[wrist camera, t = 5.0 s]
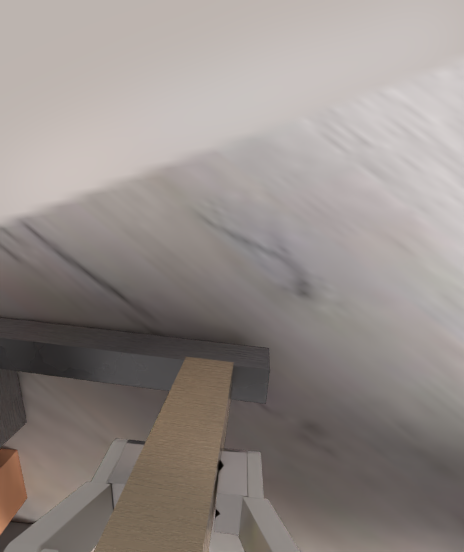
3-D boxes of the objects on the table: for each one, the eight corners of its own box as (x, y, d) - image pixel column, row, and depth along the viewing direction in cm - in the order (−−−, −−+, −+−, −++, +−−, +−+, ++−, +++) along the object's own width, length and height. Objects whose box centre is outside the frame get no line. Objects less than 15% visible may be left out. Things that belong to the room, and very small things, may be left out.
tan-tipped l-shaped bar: (268, 345, 15) (284, 613, 5) (255, 456, 17) (249, 781, 8) (-25, 311, 16) (-435, 473, 7) (0, 418, 19) (-277, 651, 9)
